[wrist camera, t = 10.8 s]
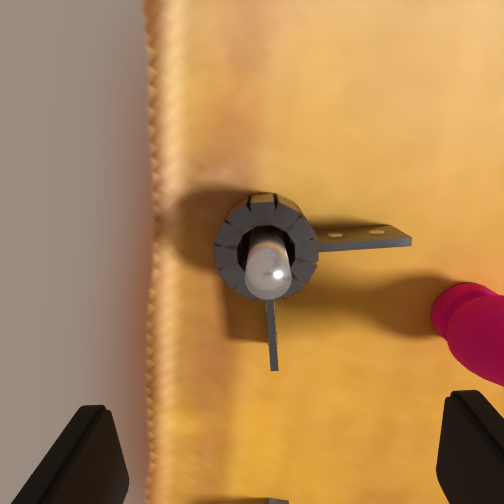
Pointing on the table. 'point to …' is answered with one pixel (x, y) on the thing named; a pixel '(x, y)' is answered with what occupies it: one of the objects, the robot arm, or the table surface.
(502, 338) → the pepper mill
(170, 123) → the table surface
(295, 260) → the hinge
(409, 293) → the table surface
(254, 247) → the hinge pin
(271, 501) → the rusty metal bracket
